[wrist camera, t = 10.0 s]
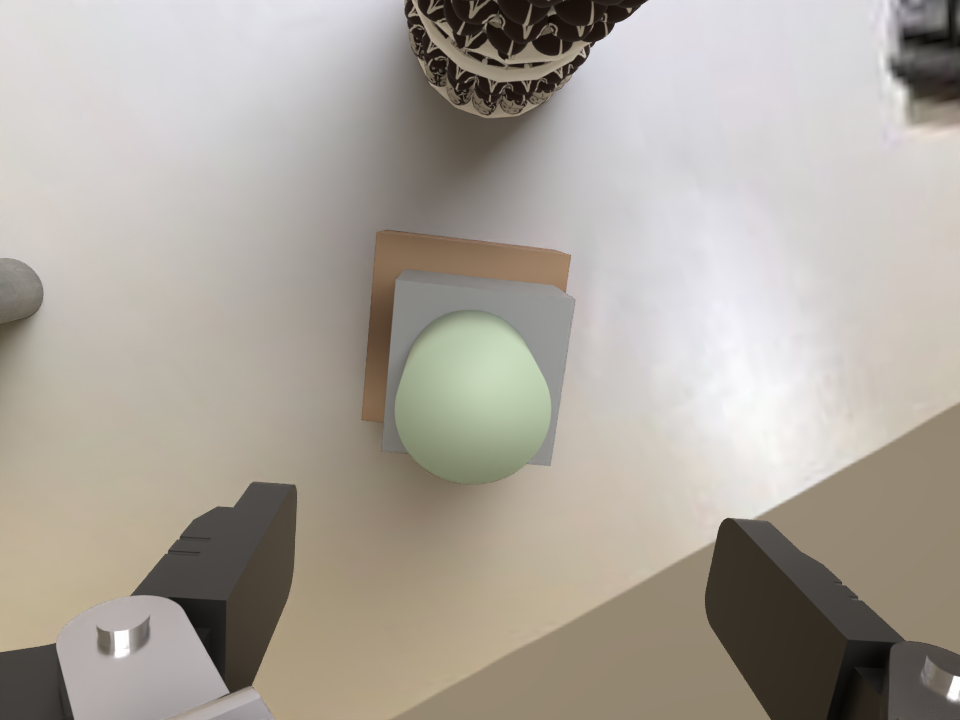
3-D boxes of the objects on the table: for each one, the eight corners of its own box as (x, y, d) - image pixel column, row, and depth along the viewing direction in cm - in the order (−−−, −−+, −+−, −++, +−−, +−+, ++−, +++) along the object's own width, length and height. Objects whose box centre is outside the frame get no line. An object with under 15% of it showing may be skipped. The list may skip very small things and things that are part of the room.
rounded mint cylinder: (539, 315, 24) (561, 343, 19) (524, 435, 25) (541, 489, 20) (411, 303, 24) (400, 328, 19) (401, 426, 25) (389, 478, 20)
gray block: (534, 426, 31) (550, 466, 26) (391, 412, 30) (381, 451, 25) (553, 285, 29) (575, 299, 24) (404, 268, 28) (395, 279, 24)
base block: (530, 407, 36) (543, 437, 31) (373, 391, 35) (361, 420, 30) (553, 249, 34) (570, 255, 29) (386, 229, 33) (376, 232, 28)
